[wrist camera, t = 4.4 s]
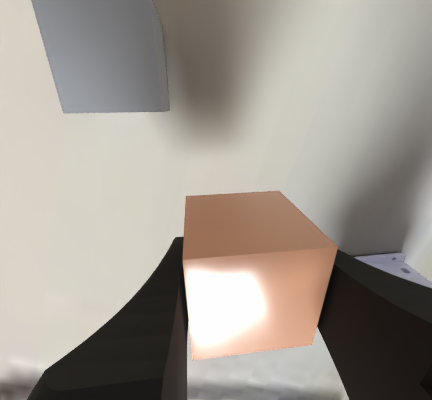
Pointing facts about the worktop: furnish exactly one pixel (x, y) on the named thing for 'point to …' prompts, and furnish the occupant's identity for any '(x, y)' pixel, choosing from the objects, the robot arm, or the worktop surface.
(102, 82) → the slate cube
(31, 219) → the worktop surface
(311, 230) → the terracotta cube
